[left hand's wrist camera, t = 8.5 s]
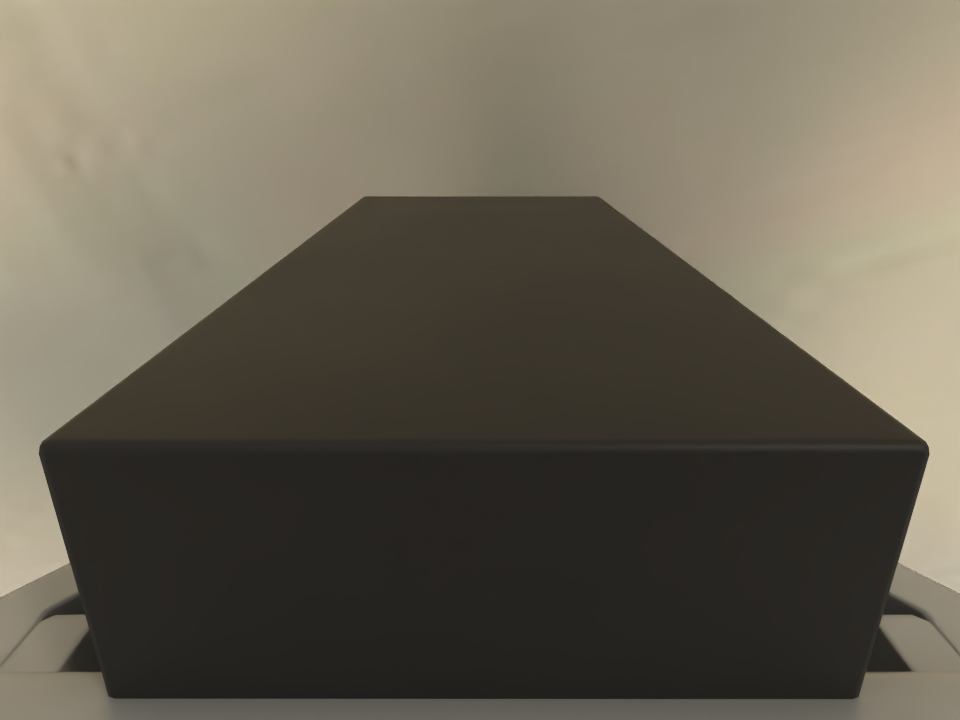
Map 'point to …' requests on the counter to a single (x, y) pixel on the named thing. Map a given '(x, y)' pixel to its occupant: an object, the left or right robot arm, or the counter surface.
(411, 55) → the counter surface
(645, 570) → the box
